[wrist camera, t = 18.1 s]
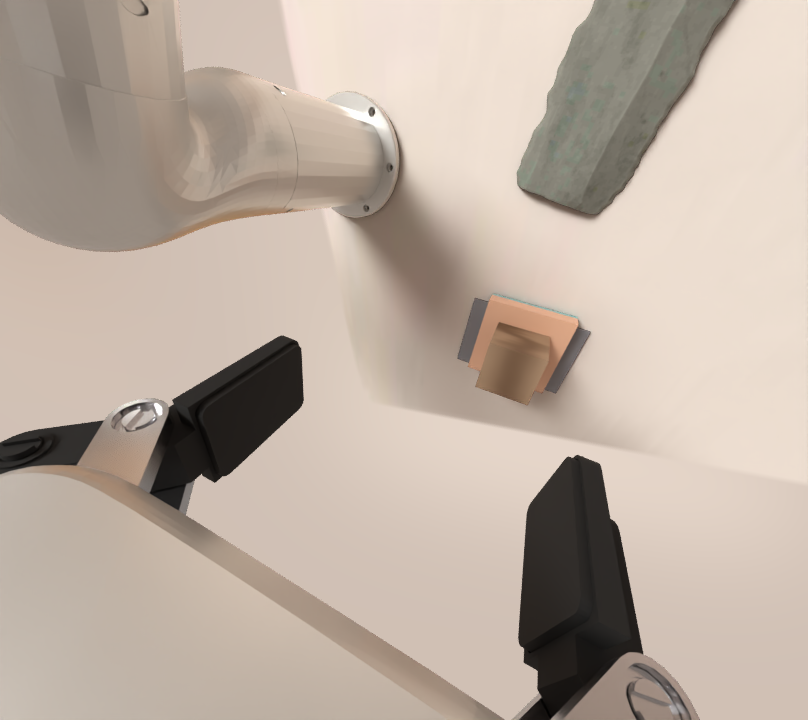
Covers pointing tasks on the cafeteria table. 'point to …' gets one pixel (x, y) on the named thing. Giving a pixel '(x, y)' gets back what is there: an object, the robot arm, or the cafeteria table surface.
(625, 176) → the stone slab
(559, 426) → the cafeteria table surface
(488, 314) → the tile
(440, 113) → the cafeteria table surface
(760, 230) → the cafeteria table surface
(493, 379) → the walnut block
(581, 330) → the mat
